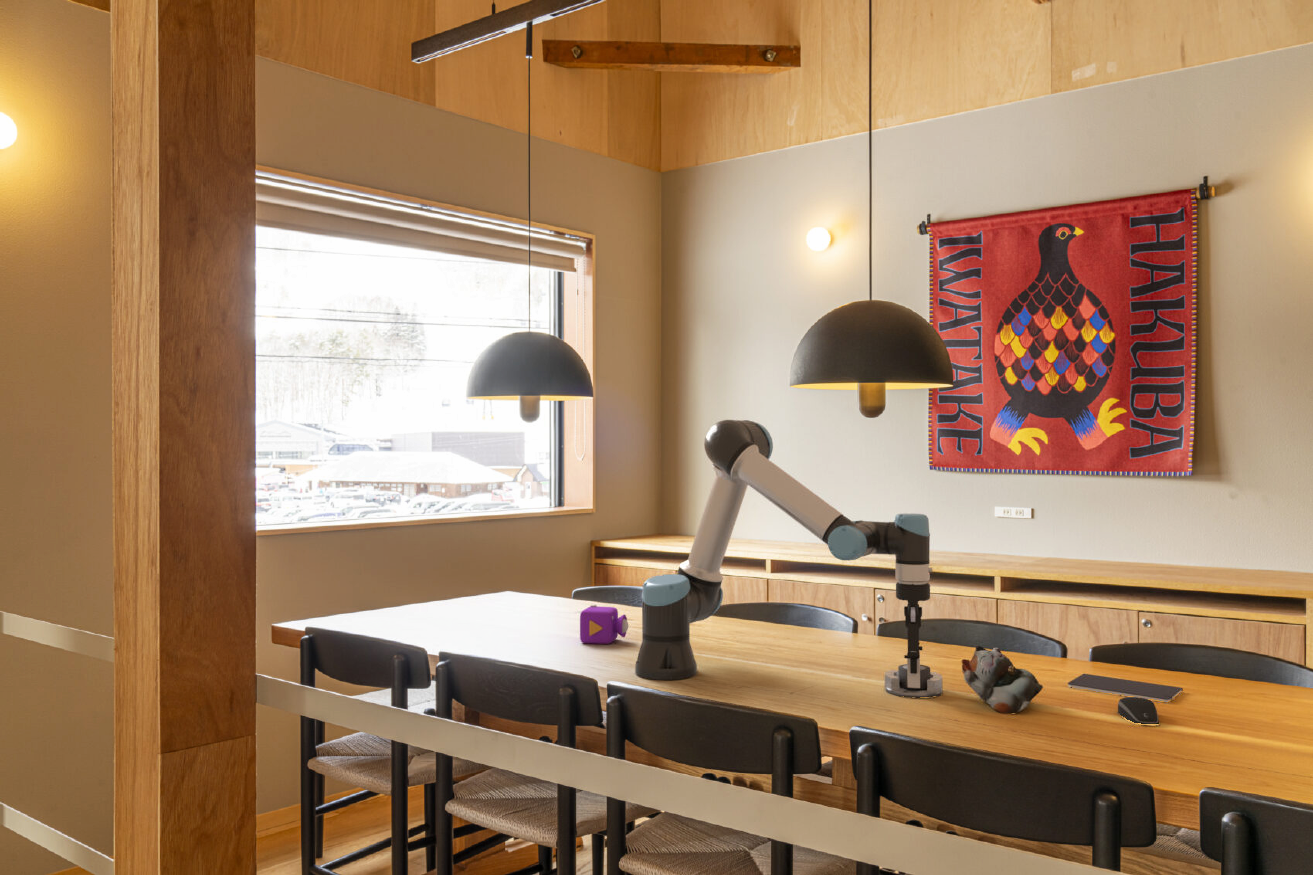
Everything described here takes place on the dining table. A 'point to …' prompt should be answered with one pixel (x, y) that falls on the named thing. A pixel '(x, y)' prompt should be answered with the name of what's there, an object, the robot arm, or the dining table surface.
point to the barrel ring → (932, 689)
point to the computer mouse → (1138, 710)
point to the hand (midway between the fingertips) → (913, 683)
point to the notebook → (1125, 687)
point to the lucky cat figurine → (999, 681)
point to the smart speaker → (923, 676)
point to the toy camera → (601, 625)
